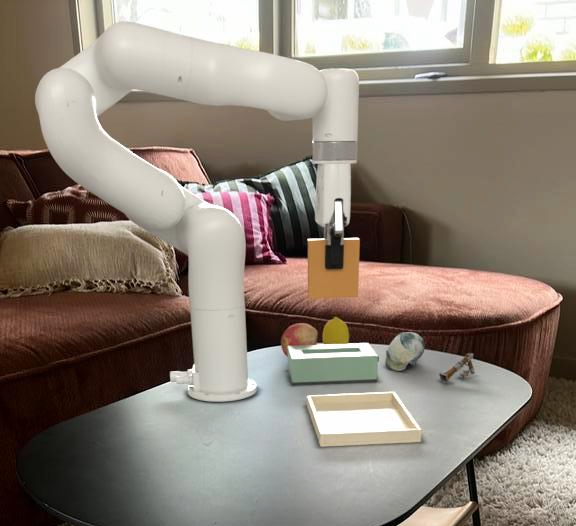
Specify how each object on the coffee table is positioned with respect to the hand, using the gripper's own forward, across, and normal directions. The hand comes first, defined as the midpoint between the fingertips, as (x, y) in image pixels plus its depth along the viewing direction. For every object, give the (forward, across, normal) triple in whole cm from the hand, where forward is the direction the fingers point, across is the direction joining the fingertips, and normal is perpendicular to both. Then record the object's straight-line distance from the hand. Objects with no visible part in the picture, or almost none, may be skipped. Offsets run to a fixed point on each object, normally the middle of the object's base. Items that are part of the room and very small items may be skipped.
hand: (333, 267), depth 136 cm
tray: (+21, +25, +1) cm, 33 cm away
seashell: (+21, -8, +16) cm, 28 cm away
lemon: (+21, -18, +4) cm, 27 cm away
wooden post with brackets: (+21, +4, +23) cm, 31 cm away
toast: (+5, 0, 0) cm, 5 cm away
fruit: (+21, -13, -4) cm, 25 cm away
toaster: (+21, -2, 0) cm, 21 cm away
